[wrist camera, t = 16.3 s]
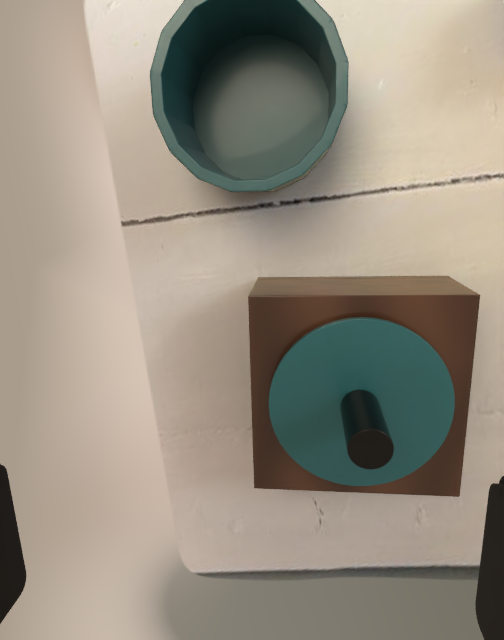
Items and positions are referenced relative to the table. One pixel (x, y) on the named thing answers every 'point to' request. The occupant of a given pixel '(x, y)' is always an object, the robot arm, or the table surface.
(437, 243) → the table surface
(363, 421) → the lid
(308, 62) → the pot
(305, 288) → the wooden box
